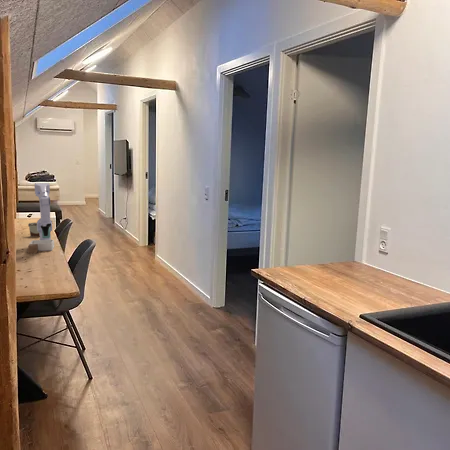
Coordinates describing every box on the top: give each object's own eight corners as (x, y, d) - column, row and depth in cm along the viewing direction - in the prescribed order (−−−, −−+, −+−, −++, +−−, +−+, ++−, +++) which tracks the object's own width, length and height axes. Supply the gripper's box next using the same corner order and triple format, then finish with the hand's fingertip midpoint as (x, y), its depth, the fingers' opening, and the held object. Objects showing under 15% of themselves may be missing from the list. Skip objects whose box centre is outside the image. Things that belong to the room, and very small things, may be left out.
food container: (47, 235, 349) (47, 222, 347) (43, 236, 343) (43, 223, 341) (32, 234, 350) (32, 222, 348) (28, 236, 344) (28, 223, 342)
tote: (32, 247, 305) (32, 240, 304) (54, 246, 308) (54, 239, 307) (29, 251, 294) (29, 243, 293) (52, 250, 297) (51, 243, 296)
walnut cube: (29, 251, 292) (29, 244, 292) (38, 251, 294) (37, 244, 293) (28, 253, 288) (28, 246, 287) (36, 253, 289) (36, 245, 288)
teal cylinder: (50, 236, 303) (50, 226, 302) (50, 238, 299) (49, 227, 298) (42, 237, 302) (42, 226, 301) (42, 238, 297) (41, 228, 296)
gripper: (40, 213, 304) (41, 233, 306) (37, 216, 290) (38, 237, 292) (51, 213, 306) (52, 233, 308) (48, 216, 292) (49, 237, 294)
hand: (46, 235), depth 300 cm, fingers closed on teal cylinder, 5 cm apart
